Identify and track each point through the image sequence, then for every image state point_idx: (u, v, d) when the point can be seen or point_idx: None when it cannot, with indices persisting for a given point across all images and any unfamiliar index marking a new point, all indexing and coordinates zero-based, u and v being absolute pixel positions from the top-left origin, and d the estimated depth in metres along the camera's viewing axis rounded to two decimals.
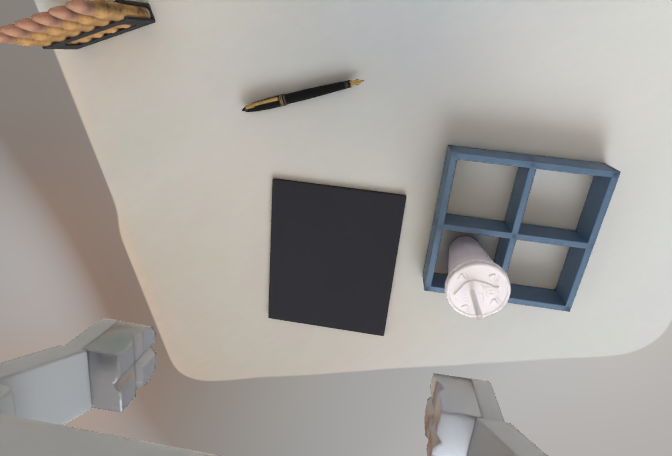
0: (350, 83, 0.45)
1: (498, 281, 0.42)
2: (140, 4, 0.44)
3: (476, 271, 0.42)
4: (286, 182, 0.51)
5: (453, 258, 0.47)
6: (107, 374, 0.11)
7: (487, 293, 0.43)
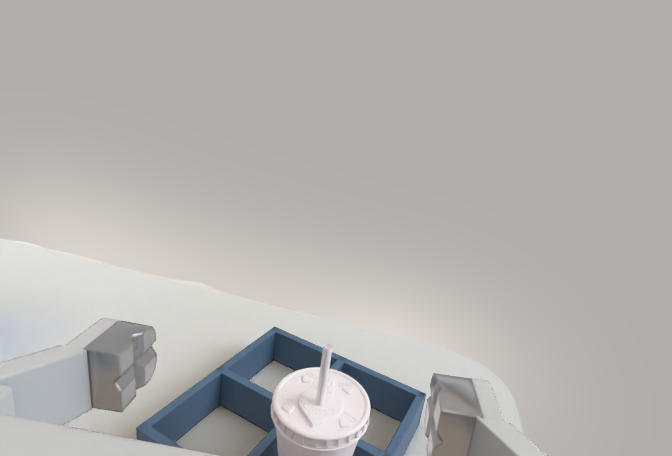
0: None
1: (316, 376, 0.29)
2: None
3: (288, 390, 0.28)
4: None
5: None
6: (107, 374, 0.11)
7: (328, 388, 0.28)
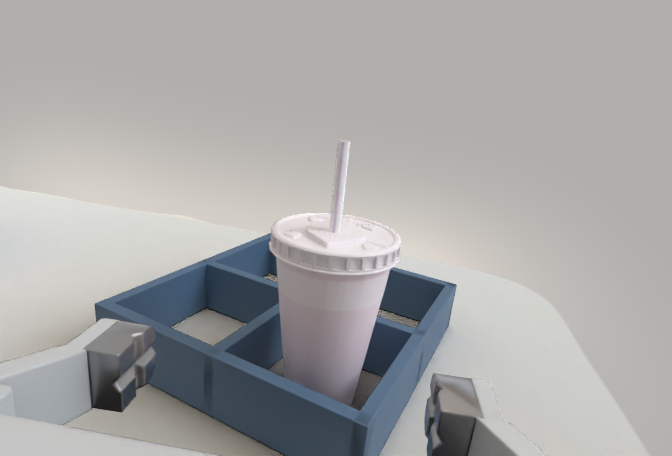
0: None
1: (326, 218, 0.23)
2: None
3: (291, 225, 0.21)
4: None
5: (285, 322, 0.20)
6: (107, 374, 0.11)
7: (344, 223, 0.21)
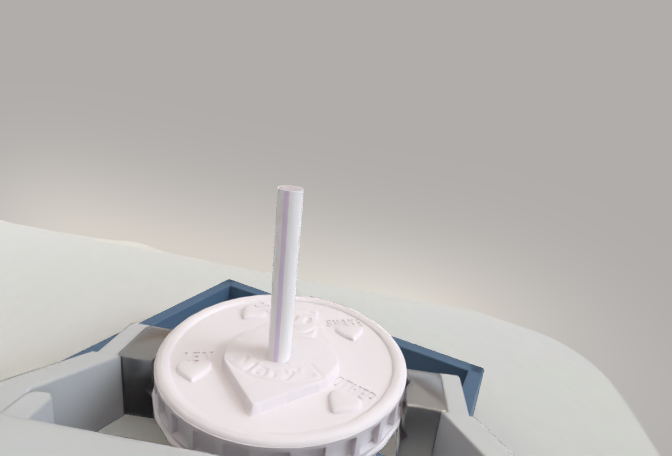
0: None
1: None
2: None
3: (204, 334, 0.11)
4: None
5: None
6: (140, 380, 0.11)
7: (303, 328, 0.12)
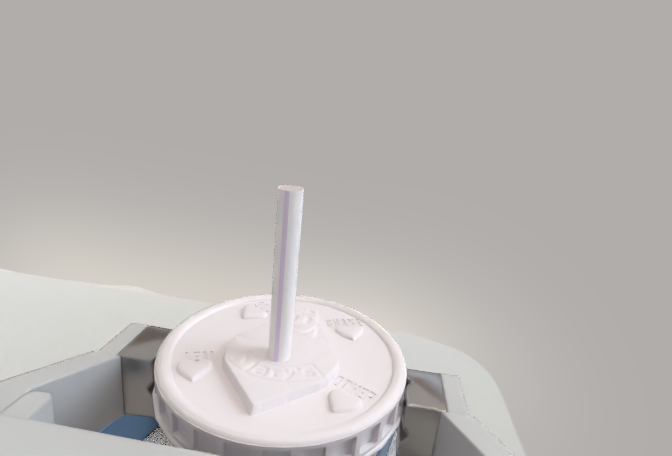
0: None
1: None
2: None
3: (204, 333, 0.11)
4: None
5: None
6: (140, 380, 0.11)
7: (303, 327, 0.12)
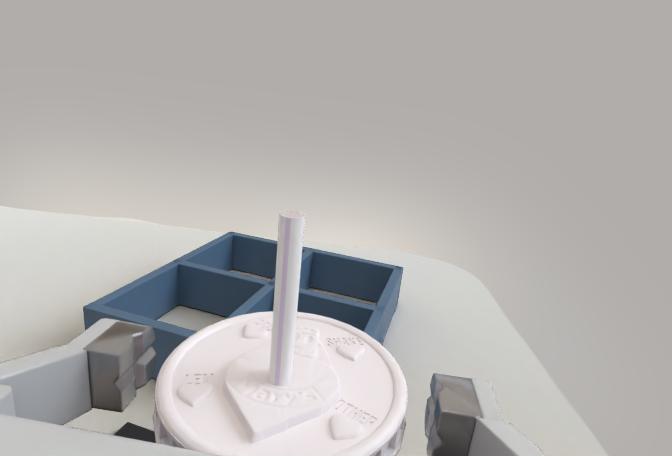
0: None
1: None
2: None
3: (205, 354, 0.11)
4: None
5: None
6: (107, 374, 0.11)
7: (304, 348, 0.12)
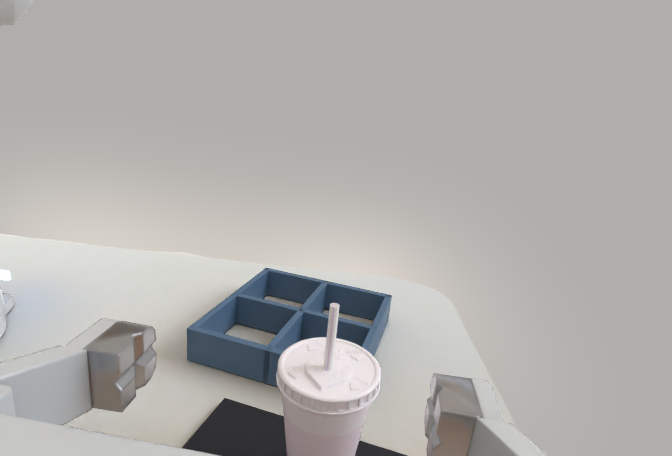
0: None
1: (322, 345, 0.28)
2: None
3: (294, 358, 0.26)
4: None
5: (289, 438, 0.26)
6: (107, 374, 0.11)
7: (336, 355, 0.27)
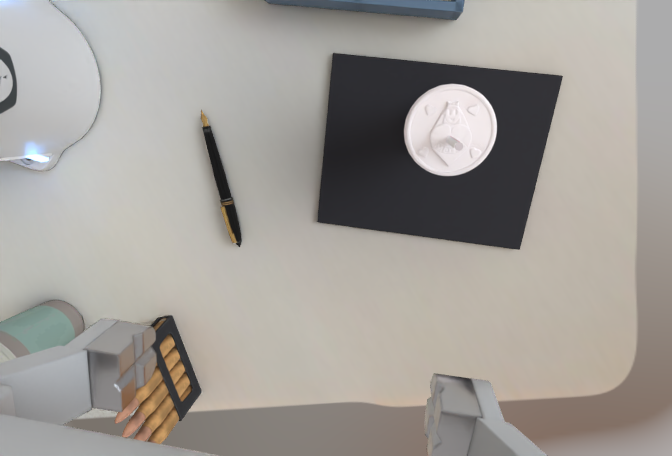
0: (205, 125, 0.41)
1: (438, 101, 0.29)
2: (152, 325, 0.48)
3: (417, 131, 0.30)
4: (320, 206, 0.43)
5: None
6: (107, 374, 0.11)
7: (454, 119, 0.29)
